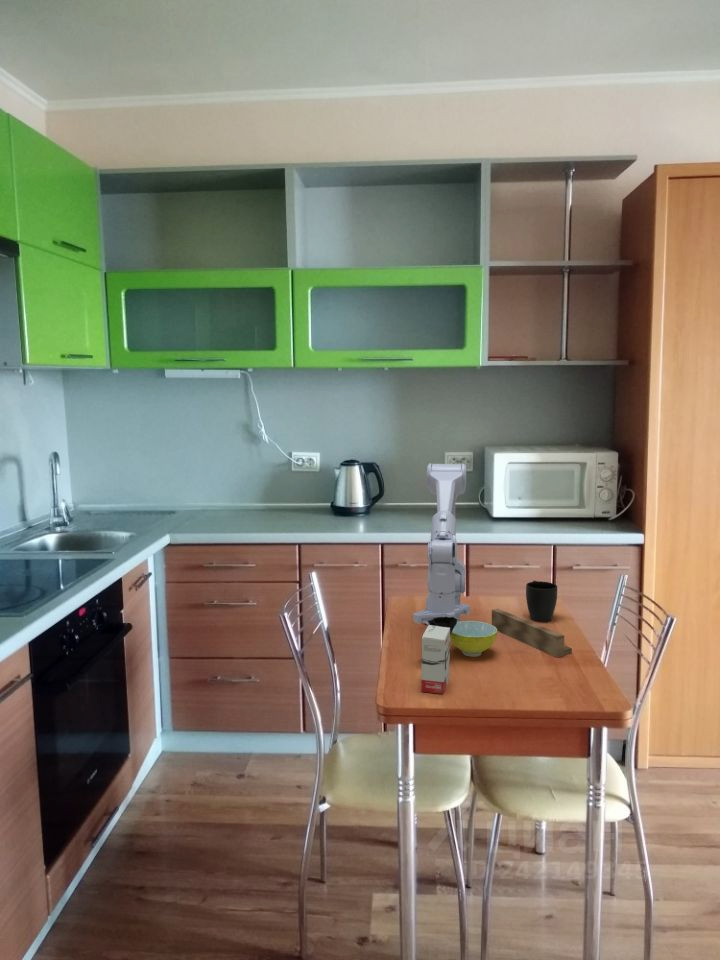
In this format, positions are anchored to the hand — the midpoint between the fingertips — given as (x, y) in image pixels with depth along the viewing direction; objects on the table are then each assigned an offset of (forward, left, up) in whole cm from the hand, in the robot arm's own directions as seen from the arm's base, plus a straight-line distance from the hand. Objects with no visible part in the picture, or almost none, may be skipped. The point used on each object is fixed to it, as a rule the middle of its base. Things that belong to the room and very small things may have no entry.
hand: (441, 648), depth 161 cm
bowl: (0, +9, -3) cm, 9 cm away
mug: (-13, +42, -3) cm, 44 cm away
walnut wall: (0, +27, -3) cm, 27 cm away
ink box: (+11, -9, -3) cm, 15 cm away
